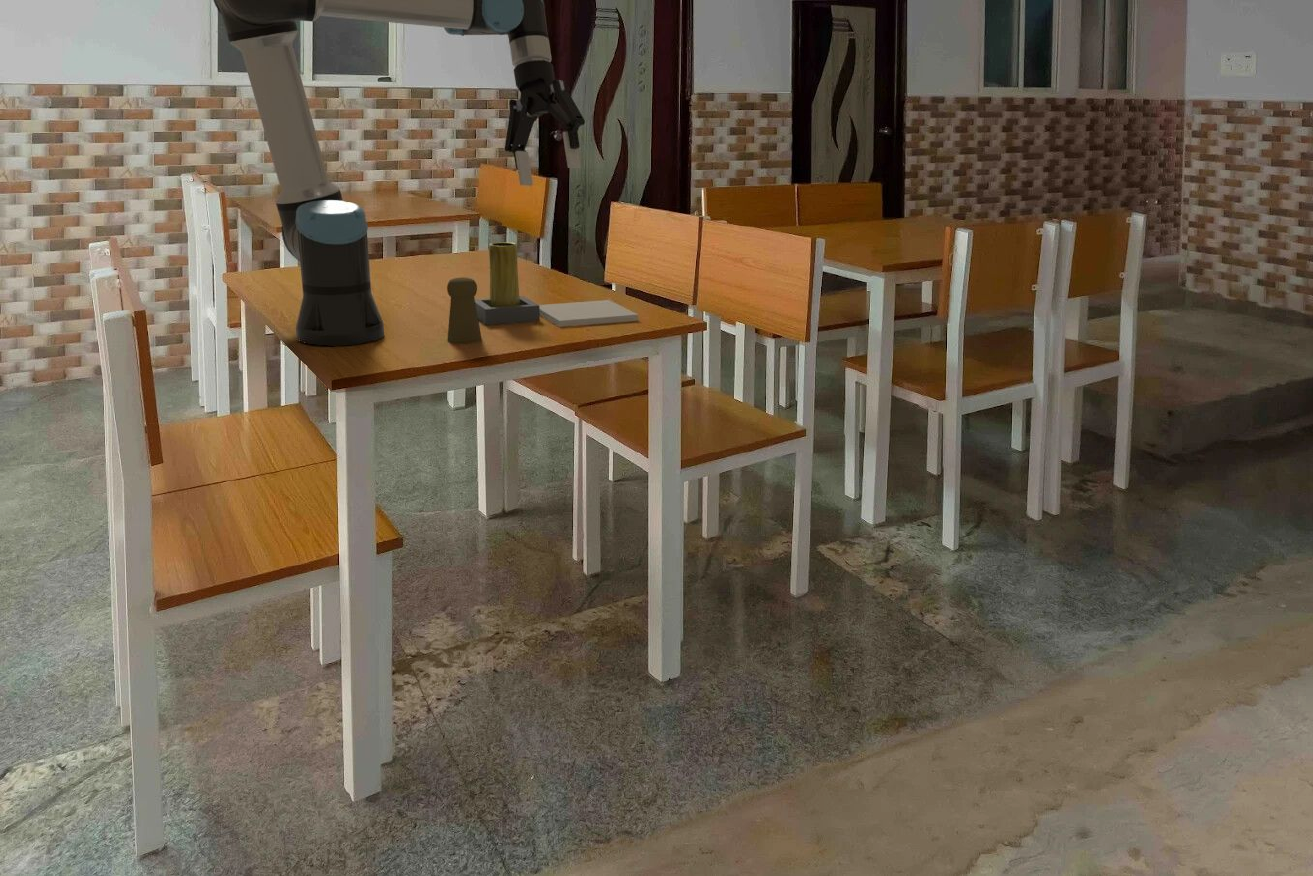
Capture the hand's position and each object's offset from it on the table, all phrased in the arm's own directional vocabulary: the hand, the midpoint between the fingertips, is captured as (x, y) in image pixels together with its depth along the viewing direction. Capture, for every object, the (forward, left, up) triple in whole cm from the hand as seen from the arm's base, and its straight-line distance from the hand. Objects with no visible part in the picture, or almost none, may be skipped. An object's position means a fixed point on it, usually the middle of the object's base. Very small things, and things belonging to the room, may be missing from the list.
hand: (550, 176), depth 211 cm
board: (+5, -4, -27) cm, 27 cm away
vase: (-10, 0, -27) cm, 28 cm away
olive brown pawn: (-22, -16, -27) cm, 38 cm away
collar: (-10, 0, -27) cm, 28 cm away
